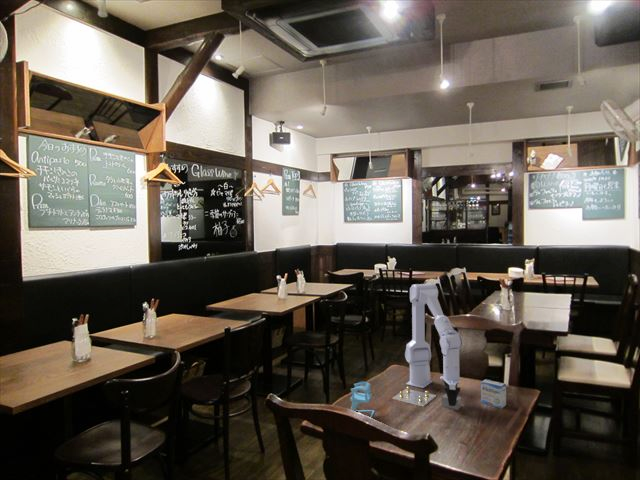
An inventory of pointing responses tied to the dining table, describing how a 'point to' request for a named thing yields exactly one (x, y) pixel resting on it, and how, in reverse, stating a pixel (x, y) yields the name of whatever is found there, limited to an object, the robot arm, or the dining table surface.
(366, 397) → the chair
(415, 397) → the plate with brass knobs
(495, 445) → the dining table surface
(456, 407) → the plain grey block
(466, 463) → the dining table surface
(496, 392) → the medicine box
